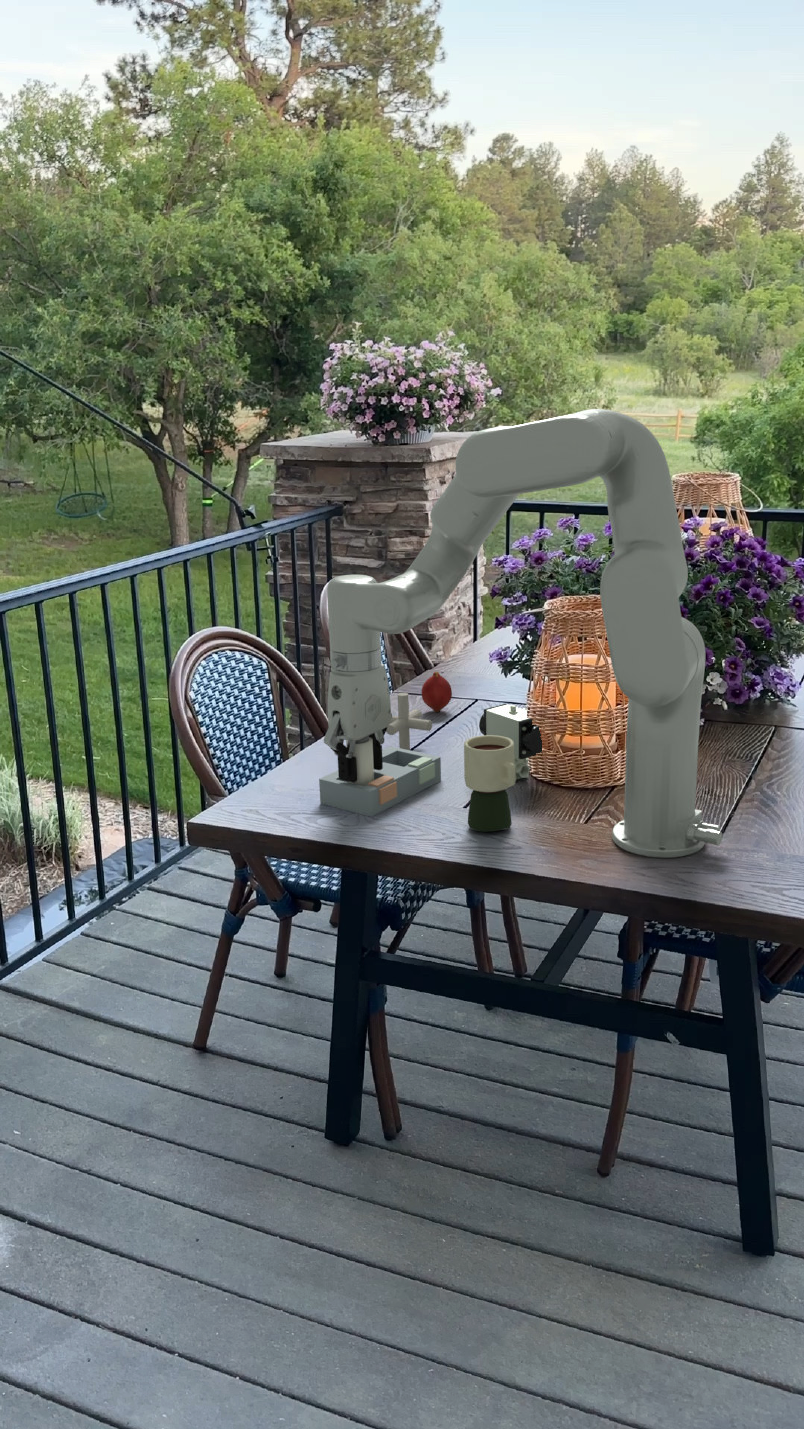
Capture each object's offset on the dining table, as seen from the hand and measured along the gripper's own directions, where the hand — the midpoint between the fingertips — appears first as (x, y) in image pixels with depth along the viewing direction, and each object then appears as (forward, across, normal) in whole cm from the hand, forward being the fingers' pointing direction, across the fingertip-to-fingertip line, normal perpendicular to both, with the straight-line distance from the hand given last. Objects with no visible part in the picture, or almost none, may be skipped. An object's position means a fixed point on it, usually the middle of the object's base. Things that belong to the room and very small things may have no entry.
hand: (360, 773), depth 178 cm
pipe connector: (+5, +23, +9) cm, 25 cm away
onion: (+5, +44, +17) cm, 47 cm away
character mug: (+5, +2, -22) cm, 23 cm away
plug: (+5, 0, 0) cm, 5 cm away
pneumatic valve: (+5, +22, -14) cm, 27 cm away
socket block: (+5, +5, 0) cm, 7 cm away
